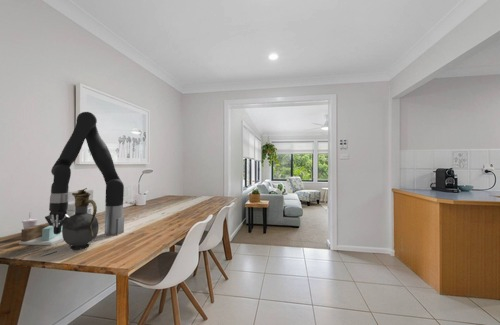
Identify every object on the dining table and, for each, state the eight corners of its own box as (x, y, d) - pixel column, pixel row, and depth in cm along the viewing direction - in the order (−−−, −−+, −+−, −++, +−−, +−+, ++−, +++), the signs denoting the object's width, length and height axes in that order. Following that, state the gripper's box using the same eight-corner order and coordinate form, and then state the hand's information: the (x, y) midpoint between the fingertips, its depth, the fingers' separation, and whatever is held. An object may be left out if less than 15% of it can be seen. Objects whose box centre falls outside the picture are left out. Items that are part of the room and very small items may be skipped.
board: (82, 233, 130) (82, 231, 130) (51, 245, 110) (51, 242, 110) (55, 232, 130) (55, 230, 130) (19, 244, 110) (19, 242, 110)
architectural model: (80, 231, 134) (81, 194, 135) (42, 232, 131) (44, 194, 132) (104, 220, 162) (105, 189, 163) (73, 221, 159) (74, 189, 160)
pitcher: (82, 241, 115) (84, 186, 116) (105, 247, 108) (107, 188, 109) (58, 248, 105) (60, 188, 106) (81, 255, 98) (84, 190, 99)
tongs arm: (55, 232, 127) (55, 220, 128) (64, 231, 129) (64, 219, 129) (38, 241, 111) (39, 228, 111) (49, 240, 113) (49, 227, 113)
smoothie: (18, 239, 118) (20, 213, 118) (24, 235, 123) (25, 211, 124) (34, 237, 121) (35, 212, 121) (39, 234, 126) (40, 210, 127)
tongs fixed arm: (48, 232, 125) (49, 222, 126) (53, 232, 125) (54, 222, 126) (21, 241, 110) (21, 229, 111) (26, 241, 110) (27, 229, 111)
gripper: (76, 200, 118) (75, 232, 117) (53, 200, 118) (51, 231, 118) (64, 202, 111) (62, 236, 110) (40, 202, 111) (38, 235, 110)
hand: (57, 233), depth 114 cm, fingers closed
